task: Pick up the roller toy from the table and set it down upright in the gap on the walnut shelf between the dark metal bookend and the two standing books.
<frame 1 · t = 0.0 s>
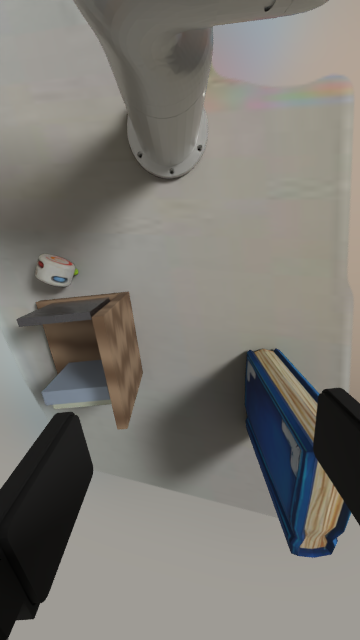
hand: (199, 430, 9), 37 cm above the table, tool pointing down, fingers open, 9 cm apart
book: (259, 390, 52), on the table
bookend: (84, 301, 45), resting on shelf
shelf: (90, 339, 47), on the table
standing books: (99, 365, 49), resting on shelf
roller toy: (63, 268, 43), on the table
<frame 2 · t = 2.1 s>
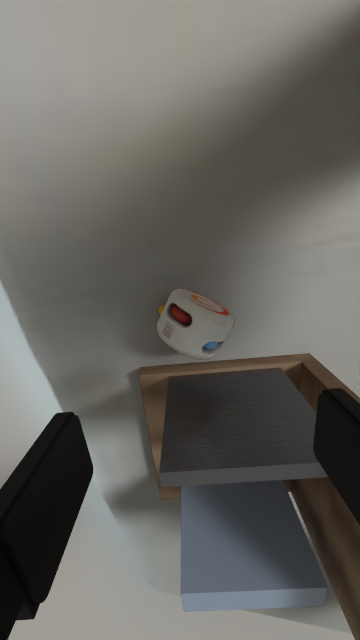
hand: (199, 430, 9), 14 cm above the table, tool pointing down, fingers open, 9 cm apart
bookend: (221, 369, 24), resting on shelf
shelf: (220, 428, 27), on the table
standing books: (226, 467, 29), resting on shelf
roller toy: (193, 311, 22), on the table
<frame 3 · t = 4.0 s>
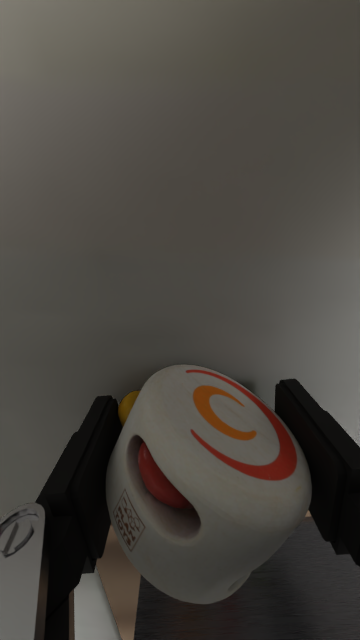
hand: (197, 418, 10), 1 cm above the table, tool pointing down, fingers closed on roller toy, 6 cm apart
bookend: (250, 496, 13), resting on shelf
shelf: (243, 582, 15), on the table
roller toy: (195, 398, 11), on the table, touching gripper
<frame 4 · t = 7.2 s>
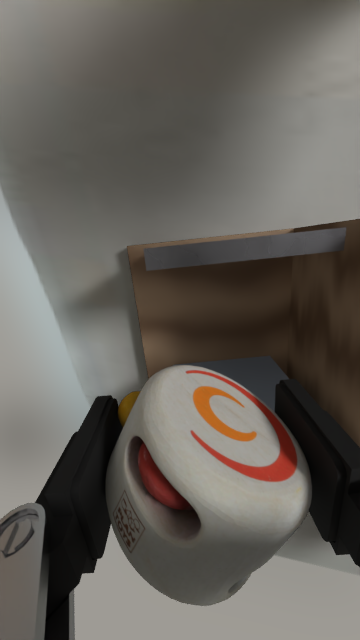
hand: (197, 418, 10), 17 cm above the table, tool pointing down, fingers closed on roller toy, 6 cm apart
bookend: (213, 247, 23), resting on shelf
shelf: (212, 321, 26), on the table
standing books: (219, 368, 28), resting on shelf
roller toy: (195, 399, 11), point 16 cm above the table, touching gripper
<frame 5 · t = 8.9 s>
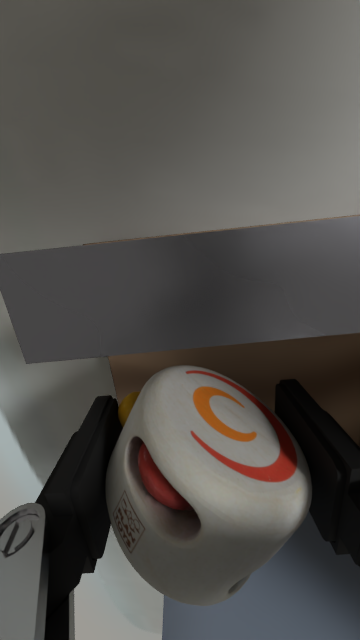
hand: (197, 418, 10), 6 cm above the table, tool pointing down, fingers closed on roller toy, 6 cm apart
bookend: (242, 246, 13), resting on shelf
shelf: (236, 369, 16), on the table
standing books: (244, 438, 18), resting on shelf
roller toy: (195, 399, 11), point 5 cm above the table, touching gripper
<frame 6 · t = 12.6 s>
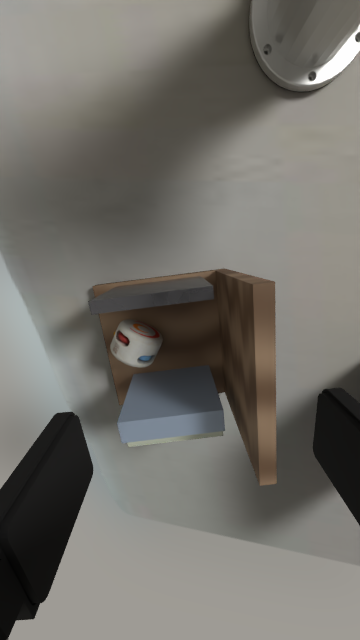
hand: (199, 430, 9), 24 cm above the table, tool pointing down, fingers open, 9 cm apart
bookend: (159, 284, 31), resting on shelf
shelf: (164, 339, 33), on the table
standing books: (173, 376, 35), resting on shelf
roller toy: (140, 334, 32), point 1 cm above the table, touching shelf
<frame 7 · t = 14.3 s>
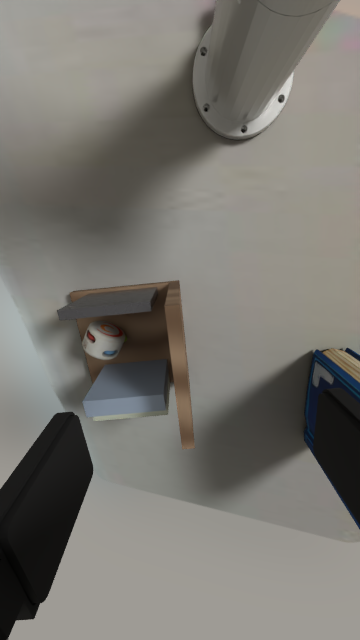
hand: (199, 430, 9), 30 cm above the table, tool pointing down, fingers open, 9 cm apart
book: (321, 396, 45), on the table
bookend: (125, 291, 38), resting on shelf
shelf: (130, 336, 40), on the table
standing books: (138, 367, 42), resting on shelf
roller toy: (109, 332, 39), point 1 cm above the table, touching shelf
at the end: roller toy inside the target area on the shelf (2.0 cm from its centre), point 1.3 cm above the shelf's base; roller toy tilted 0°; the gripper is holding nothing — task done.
